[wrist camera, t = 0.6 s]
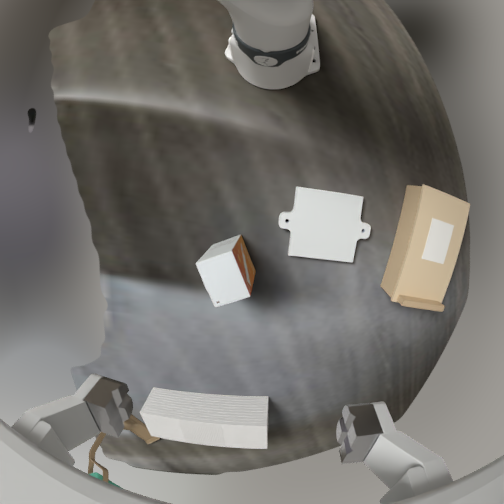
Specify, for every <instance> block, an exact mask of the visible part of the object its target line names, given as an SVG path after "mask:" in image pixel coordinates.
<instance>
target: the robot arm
mask: <svg viewBox="0 0 504 504" xmlns="http://www.w3.org/2000/svg"><path fill="white" fill-rule="evenodd" d="M217 1H218V2H220V3H221V4H222V5H224V6H225V7H226V8H227V10H228V11H229V13H230V16H231V18H232V20H233V28H232V31H231V32H232V33H233V34H232V36H231V37H230V38H229V45H228V47H227V49H226V51H225V56H226V58H227V59H228V60H230V61H231V62H232V63H234V64H235V66H236V67H237V69H238V71H239V73H240V74H241V76H242V77H243V78H244V79H245V80H246V81H248V82H249V83H251V84H253V85H255V86H257V87H260V88H265V89H282V88H286V87H289V86H292V85H294V84H296V83H297V82H299V81H300V80H301V79H302V78H303V77H305V76H306V75H309V74H312V73H315V72H317V71H319V70H320V57H319V47H318V38H317V29H316V21H315V17H314V15H313V14H312V11H313V0H217ZM313 60H314V61H315V62H312V61H313ZM128 391H129V389H128V387H127V384H125V383H122V382H119V381H116V380H113V379H110V378H107V377H103V376H100V375H97V374H91V375H90V376H89V377H88V379H87V380H86V381H85V382H84V383H83V384H82V386H81V387H80V388H79V389H78V390H77V392H76V393H75V394H74V395H73V396H71V395H69V396H66V397H63V398H61V399H58V400H55V401H52V402H49V403H46V404H43V405H41V406H37V407H34V408H31V409H28V410H26V411H25V413H24V414H23V415H22V416H21V417H20V418H19V419H18V420H17V422H16V423H15V424H14V425H13V426H12V427H10V426H9V425H8V424H6V423H5V422H4V421H2V420H1V419H0V504H171V503H167V502H163V501H159V500H156V499H152V498H149V497H146V496H142V495H139V494H136V493H133V492H130V491H128V490H125V489H122V488H120V487H117V486H114V485H112V484H110V483H107V482H105V481H102V480H100V479H98V478H96V477H93V476H91V475H89V474H87V473H85V472H83V471H81V470H79V469H76V468H75V467H73V465H74V463H75V461H74V459H73V457H72V456H71V455H70V454H69V452H68V451H70V450H72V449H73V448H75V447H77V446H79V445H80V444H82V443H84V442H85V441H87V440H89V439H91V438H92V437H94V436H96V435H97V434H99V433H100V432H103V433H106V434H109V435H111V436H114V437H119V436H120V434H121V432H122V430H123V429H124V427H125V426H124V421H126V420H128V419H129V418H130V416H131V414H132V410H133V402H132V399H131V397H130V396H129V395H128V394H127V392H128ZM342 414H343V417H342V418H340V419H339V421H338V424H337V431H336V433H337V441H338V442H339V443H340V444H341V445H342V446H341V448H340V450H339V452H340V457H341V462H342V463H352V462H353V463H354V462H363V461H364V462H363V463H364V464H365V465H366V466H367V467H368V468H369V469H370V470H371V471H372V472H373V473H374V474H375V475H376V476H377V477H378V478H379V479H380V480H381V481H382V482H383V483H384V484H385V485H386V486H388V488H390V490H389V491H388V492H387V493H386V494H385V495H384V496H383V498H381V500H380V503H381V504H504V455H503V456H501V457H500V458H498V459H496V460H495V461H493V462H491V463H489V464H488V465H486V466H484V467H482V468H480V469H478V470H476V471H474V472H472V473H470V474H468V475H467V476H464V477H462V478H460V479H458V480H456V481H453V480H452V478H451V475H450V473H449V471H448V468H447V466H446V464H445V462H444V460H443V458H442V457H441V456H439V455H437V454H436V453H434V452H432V451H431V450H429V449H428V448H426V447H425V446H423V445H422V444H420V443H419V442H417V441H415V440H414V439H412V438H411V437H409V436H408V435H406V434H405V433H403V432H401V431H397V430H396V427H395V425H394V423H393V420H392V418H391V415H390V413H389V411H388V409H387V406H386V404H385V403H384V402H383V401H382V402H374V403H364V404H353V405H345V407H344V408H343V411H342Z"/></svg>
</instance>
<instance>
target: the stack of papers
mask: <svg viewBox="0 0 504 504" xmlns="http://www.w3.org/2000/svg"><path fill="white" fill-rule="evenodd" d="M140 414H141V416H142V418H143V420H144V422H145V424H146V427H147V429H148V431H149V433H150V435H151V436H154V437H159V438H164V439H169V440H175V441H181V442H187V443H194V444H202V445H210V446H220V447H233V448H253V449H267V445H268V423H269V406H268V396H231V395H215V394H202V393H192V392H183V391H175V390H167V389H160V388H154V387H153V390H152V391H151V392H150V394H149V396H148V398H147V401H146V402H145V404H144V405H143V408H142V409H141V411H140Z"/></svg>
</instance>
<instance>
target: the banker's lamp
mask: <svg viewBox="0 0 504 504" xmlns="http://www.w3.org/2000/svg"><path fill="white" fill-rule="evenodd" d="M124 426H125V427H124V429H126V430H130V431H132V432H133V433H134V434H136V435H137V436H139V437H140V438H142V439H143V440H145V441H146V443H147V444H150V443H152V442H154V441H157V440H159V439H160V438H159V437H154V436H151V435H150V433H149V431H148V429H147V427H146V425H145V424H144V423H142V422H141V421H139V420H138V419H137V418H135V417H134V416H133V415H131V416H130V418H129V419H128V420H126V421H124ZM105 435H106V433H103V432H100V434H99V436H98V437H97V439H96V441H95V442H94V444H93V446H92V447H91V449H90V452H89V467H88V474H89V475H91V476H93V477H96V478H98V479H100V480H102V481H105V482H107V483H110V484H112V485H114V486H117V487H120V486H118V485H116V484H114V483H112V482H111V481H110V480H108V470H107V469H106V468H104V467H103V466H101V465H100V464H98V463H97V462H96V461H95V452H96V450H97V448H98V447H99V445H100V443H101V442H102V440H103V438H104V437H105ZM94 463H95V464H96V465H97V466H98V467H100V468H101V469H102V470H103V476H102V475H100V474H98V473H93V466H94ZM120 488H121V487H120ZM122 489H123V488H122Z"/></svg>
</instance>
